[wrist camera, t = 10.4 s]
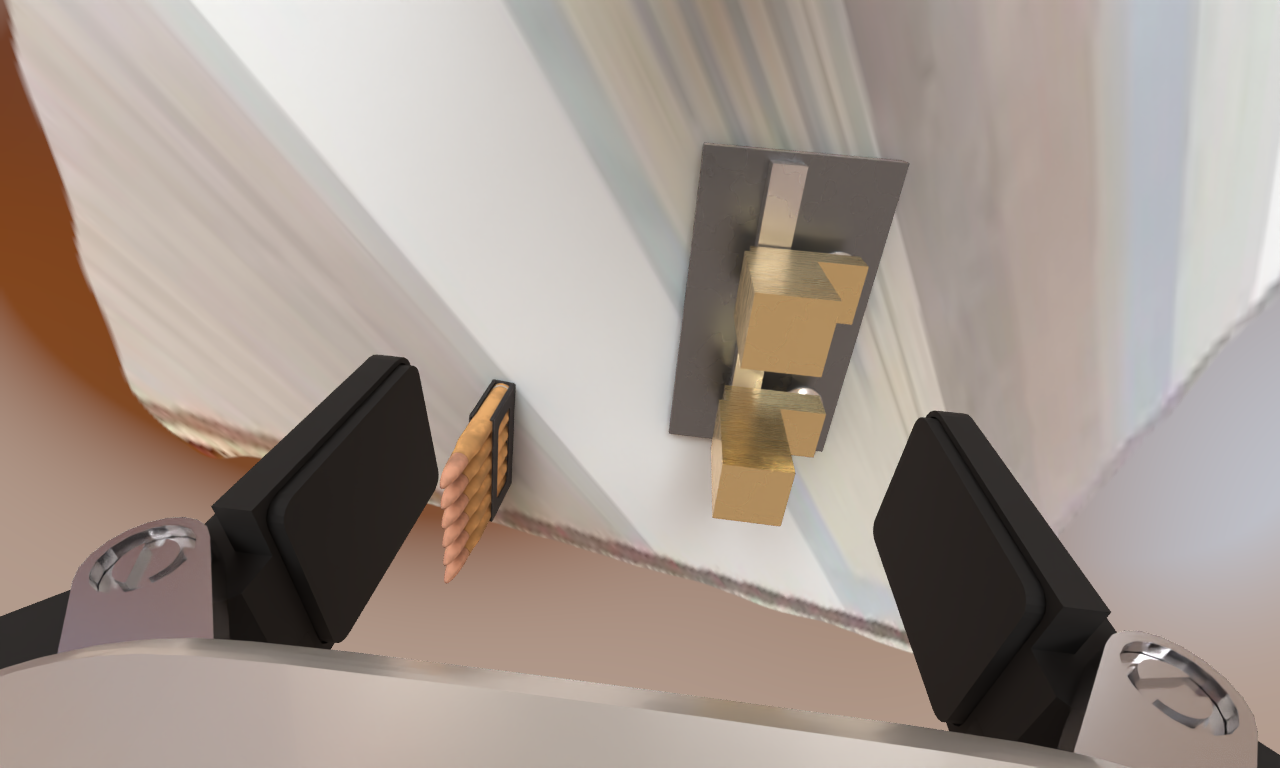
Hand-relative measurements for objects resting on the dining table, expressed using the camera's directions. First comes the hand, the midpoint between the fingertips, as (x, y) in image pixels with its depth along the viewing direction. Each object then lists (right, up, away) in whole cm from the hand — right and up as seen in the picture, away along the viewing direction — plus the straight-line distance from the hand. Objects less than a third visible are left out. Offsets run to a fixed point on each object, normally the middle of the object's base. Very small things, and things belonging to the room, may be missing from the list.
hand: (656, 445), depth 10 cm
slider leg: (+9, +8, +24) cm, 27 cm away
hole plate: (+9, +6, +28) cm, 30 cm away
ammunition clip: (-12, -3, +36) cm, 38 cm away
